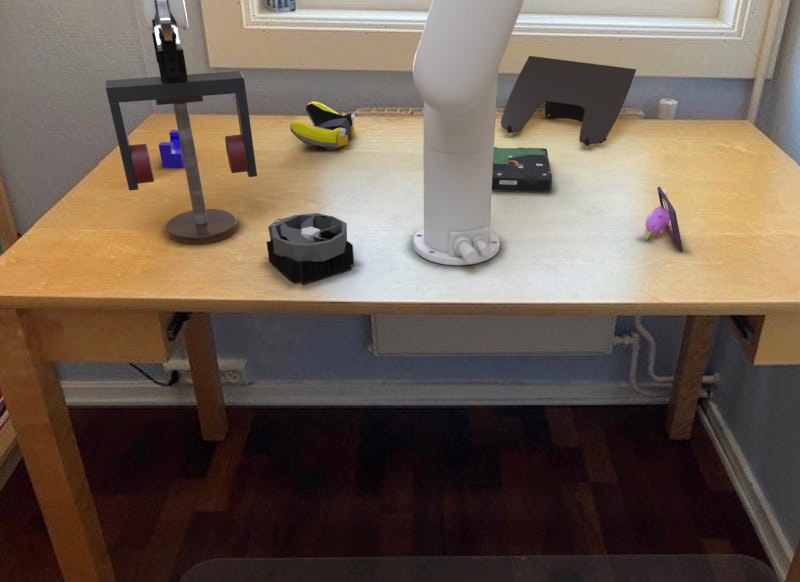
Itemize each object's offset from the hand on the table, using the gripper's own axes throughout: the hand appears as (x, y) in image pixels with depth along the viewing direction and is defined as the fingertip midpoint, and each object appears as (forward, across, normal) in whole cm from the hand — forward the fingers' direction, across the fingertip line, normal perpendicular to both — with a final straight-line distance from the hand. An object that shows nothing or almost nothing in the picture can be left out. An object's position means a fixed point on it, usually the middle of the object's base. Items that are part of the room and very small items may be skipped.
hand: (172, 72), depth 103 cm
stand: (+23, 0, -1) cm, 23 cm away
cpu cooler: (+23, -16, -14) cm, 31 cm away
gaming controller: (+23, +33, -26) cm, 48 cm away
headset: (+15, 0, 0) cm, 15 cm away
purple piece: (+22, -24, -64) cm, 72 cm away
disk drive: (+22, +5, -54) cm, 59 cm away
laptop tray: (+22, +26, -74) cm, 81 cm away
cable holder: (+23, +31, 0) cm, 38 cm away
